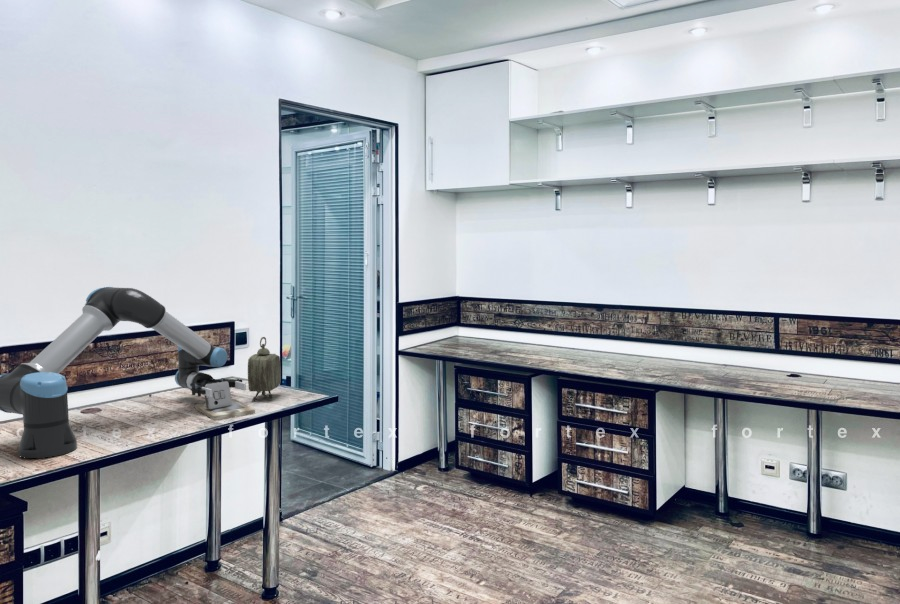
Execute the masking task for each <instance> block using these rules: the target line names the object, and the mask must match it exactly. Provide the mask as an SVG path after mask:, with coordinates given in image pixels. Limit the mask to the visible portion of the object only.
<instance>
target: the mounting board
mask: <svg viewBox="0 0 900 604" xmlns="http://www.w3.org/2000/svg"><path fill="white" fill-rule="evenodd" d="M231 400H232V405H231V406H226V407H221V408H215V409H209V408H206V402H205V403H204V402H203V403H198V404H194V407H195V408H196V409H195V410H197V411H198V410H199V411H198V412H200V413H201V412H202V413H201V414H203V413H204V414H203V415H205V416H206V415H207V416H206V417H208V418H209V417H210V418H209V419H211V420H212V421H219V420H218V419H220V420H225V419H224V418H226V419H231V417H232V418H236V417H235V416H238V417H242V416H241V415H244V416H247V415H246V414H250V415H254V414H253V413H255V414H256V409H255V408H253V407H251V406H249V405H247V404H246V403H243V402H242V401H239V400H238V399H235V398H233V399H232V398H231Z"/></svg>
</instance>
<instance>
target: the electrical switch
mask: <svg viewBox="0 0 900 604" xmlns="http://www.w3.org/2000/svg"><path fill="white" fill-rule="evenodd" d="M205 388H209V389H212V397H208V396H205V395H203V396H204V399H205V403H206V408H209V409H215V408H221V407H226V406H231V405H232V400H231V399H232V395H231V387H229V383H228V382H227V381H225V382H218V383H212V384H206V385H205Z"/></svg>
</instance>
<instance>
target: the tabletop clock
mask: <svg viewBox="0 0 900 604" xmlns="http://www.w3.org/2000/svg"><path fill="white" fill-rule="evenodd" d="M263 340H264V343H262V341H263ZM259 346H260V348H259V349H258V350H257V353H255V354H253V355H251V356H249V358H248V360H247V382H248V383H247V384H248V390H249V392H256V393H255V396H253V397H252V401H253V402H257V400H258V396H259V394H260V393H261V395H263V396H265V395H266V392H268V394H269V395H268V398H269V399H273V397H274V396H273V394H271V391H274V390H275V389H276V388H278V387H279V386H280V385H281V382H282V381H281V379H282V376H281V375H282V371H281V370H282V369H281V368H282V367H281V357H280V356H279V355H277V354H276V353H271V352H270V350H269V349H268V348H267V347H266V346H267V338H266V337H265V336H262V337H261V338H260V341H259Z"/></svg>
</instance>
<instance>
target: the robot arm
mask: <svg viewBox="0 0 900 604" xmlns="http://www.w3.org/2000/svg"><path fill="white" fill-rule="evenodd" d="M81 310H82V314H81V315H80V316H79V317H78V318H77V319H75V320H74V321H73V322H72V323H71V324H70V325H69V326H68V327H67V328H66V329H65V330H63V331H62V332H61V333H60V334H59V335H57V337H56V338H55V339H54V340H53V341H52V342H50V344H48V345H47V346H46V347H45V348H44V349H43V350H42V351H41V352H40V353H38V354H37V355H36V356H35V357H34V358H33V359H32V360H31V361H29V362H24V363H23V362H22V363H20V364H19V365H18V366H17V367H16V368H14V370H12V371H11V372H10V373H7V372H6V373H3V374H0V411H1V412H4V413H7V414H17V415H22V421H23V431H22V434H21V438H20V442H19V444H18V446H17V447H18V448H17V449H18V450H17V452H18V457H19V456H21V457H25V458H40V459H46V458H45V457H48V458H53V457H52V456H54V457H57V456H58V455H59V456H62V455H65V453H66V454H68V452H69V453H71V452H73V451H75V450H76V449H77V448H78V442H77V441H78V440H77V438H76V435H75V434H74V431H73V429H72V427H71V425H70V421H69V420H70V419H69V418H70V417H69V400H68V399H69V398H68V383H67V380H66V379H67V378H66V377H65V376H64V375H62V374H60V373H61V372H63V370H64V369H65V368H67V366H69V364H71V363H72V361H74V360H75V358H77V357H78V356H79V355H80V354H81V353H82V352H83V351H84V350H85V349H86V348H87V347H88V346H89V345H90V344H92V342H93V341H95V339H97V337H98V336H99V335H100V334H102V333H103V332H104V331H105V332H107V331H111V330H112V329H114V327H115V326H116V325H117V324H118V323H119V322H130V323H136V324H139V325H141V326H142V327H144V328H146V329H152V330H154V331H155V332H156V333H158V334H160V335H161V336H163V337H164V338H165V339H167V340H168V341H170V342H171V343H173V344H174V345H176V346H177V359H178V361H177V362H178V370H177V371H176V373H175V375H174V381H175V383H176V385H177V386H179V387H181V388H183V389H188V390H190V391H191V396H195V395H196V394H197V397H201V396H204V395H205V396H208V397H212V389H209V388H205V385H206V384H212V383H218V382H225V381H227V382H228V383H229V388H235V389H237V390H240V391H244V392H245V391H247V383H246V382H243V379H240V378H237V379H233V378H225V377H221V378H218V379H215V378H213V376H212V375H211V374H208V373H206V372H202V371H200V370H199V369H200V368H199V367H200V366H203V367H204V366H205V367H212V368H217V367H218V368H219V367H222V366H223V367H224V365H225V364H226V362H227V360H228V352H227V351H226V349H225V348H222V347H218V346H217V347H216V346H214V345H213V344H211V343H210V342H208V341H207V340H206V339H205V338H203V337H202V336H201V335H199V334H197V333H196V332H195V331H194V330H192V329H191V328H189V327H188V326H187V325H185V324H184V323H182V322H181V321H180V320H179V319H177V318H175V316H173V315H172V314H170V313H169V312H167V310H166V306H164V305H163V304H162V303H160V302H159V301H158V300H156V299H155V298H153V297H152V296H151V295H149V294H147V293H145V292H143V291H142V290H139V289H137V288H133V287H113V286H104V287H99V288H95V289H93V290H92V291H91V292H90V293H89V294H88V295H87V297H86V299H85V304H84V306H83V307H82V309H81ZM205 396H204V397H205ZM59 456H58V457H59ZM21 457H20V458H21ZM25 458H24V459H25Z"/></svg>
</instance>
